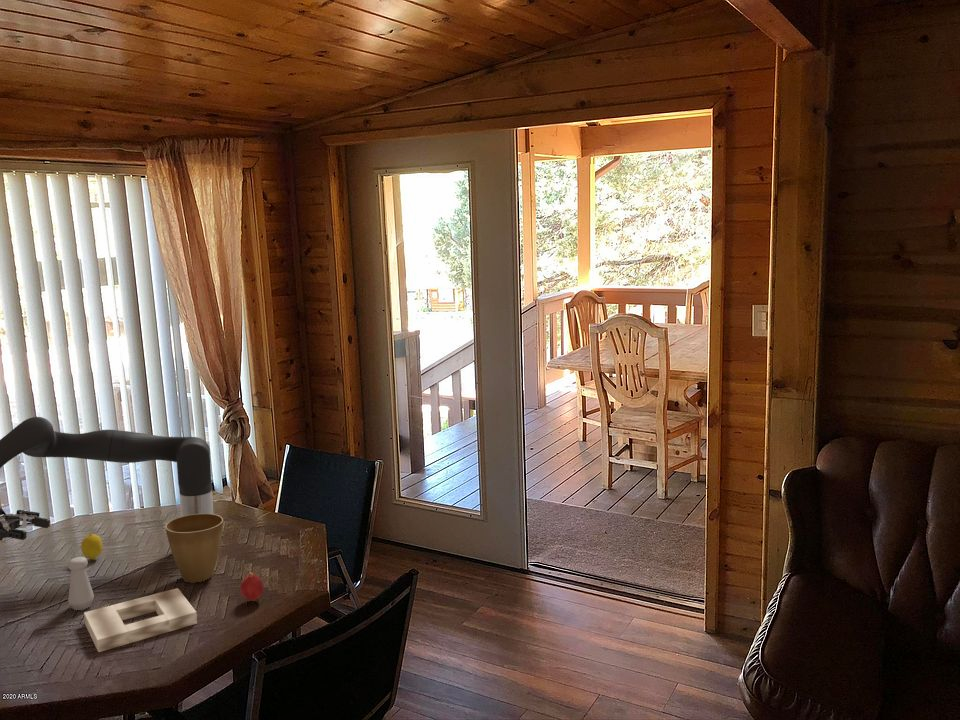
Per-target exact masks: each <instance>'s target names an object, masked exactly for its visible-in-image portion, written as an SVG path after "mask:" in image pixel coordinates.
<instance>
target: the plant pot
mask: <svg viewBox="0 0 960 720" xmlns="http://www.w3.org/2000/svg"><path fill="white" fill-rule="evenodd" d="M223 527H224V518H223V517H222V516H221V515H219V514H215V513H214V514H192V515H186V516H182V517H181V516H179V517H176V518H173V519H171V520H170V521H168V522H167V523H166V524H165V527H164V528H165V532H166V536H167V541H168V544H169V548H170V550H171V551H170V552H171V554H172V557H173V559H174V563H175V565H176V567H177V569H178V572H179V573H180V576H181V578H182V579H183V581H184V582H185V583H188V582H190V583H189V584H197V583H196V582H199V583H203V582H206V581H208V580H210V579H211V578H212V577H211V576H213V574H214V571H215V568H216V564H217V561H218V556H219V553H220V549H221V542H222V541H221V540H222V535H223ZM210 577H211V578H210ZM209 578H210V579H209ZM207 579H208V580H207ZM205 580H206V581H205ZM202 581H203V582H202Z"/></svg>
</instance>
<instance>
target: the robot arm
mask: <svg viewBox="0 0 960 720" xmlns="http://www.w3.org/2000/svg"><path fill="white" fill-rule="evenodd" d="M21 454H23V455H25V456H28V457H33V458H69V459H70V458H72V459H82V460H92V461H93V460H94V461H102V462H111V463H119V464H120V463H121V464H122V463H123V464H133V463H134V464H135V463H143V462H149V461H166V462H173V463H176V469H177V471H176V472H177V484H178V489H179V504H180V506H179V507H180V508H179V509H180V517H182V516H186V515H192V514H215V513H214V502H213V501H214V500H213V483H212V473H211V472H212V471H211V467H212V466H211V448H210V445H209V444H208V442H207V441H206V440H205V439H202V438H201V437H197V436H162V435H154V434H150V433H144V432H143V433H141V432H135V431H128V430H119V429H101V430H99V429H98V430H93V431H88V432H84V433H71V432H63V431H62V432H61V431H55V429H54V426H53V424H52V423H51V421H49V419H47V418H45V417H43V416H33V417H28V418H27V419H25V420H23V421H22V422H21V423H19V424H18V425H16V426H15V427H14V428H13V429H12V430H10V431H9V432H8V433H7V434H5V435H4V436H2V437H1V438H0V469H1V468H3V466H5V465H6V464H7V463H8V462H10V461H11V460H13V459H14V458H15V457H18V456H19V455H21ZM21 522H22V523H21ZM50 525H51V520H50V518H44V517H40V512H36V511H30V510H23V509H17V510H16V513H15V514H14V513H6V512H5V511H4V509H3V508H2V507H0V542H2V541H3V539H5V540H6V539H7V540H9V539H14V540H20V541H24V540H26V539H27V534H28V533H27V531H26V530H24V529H25V528H27V527H32V526H33V527H37V528H38V527H39V528H45V529H48V528H49V527H50Z"/></svg>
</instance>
